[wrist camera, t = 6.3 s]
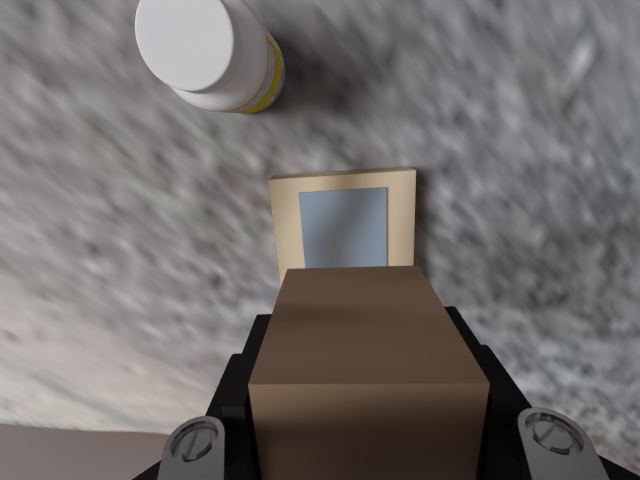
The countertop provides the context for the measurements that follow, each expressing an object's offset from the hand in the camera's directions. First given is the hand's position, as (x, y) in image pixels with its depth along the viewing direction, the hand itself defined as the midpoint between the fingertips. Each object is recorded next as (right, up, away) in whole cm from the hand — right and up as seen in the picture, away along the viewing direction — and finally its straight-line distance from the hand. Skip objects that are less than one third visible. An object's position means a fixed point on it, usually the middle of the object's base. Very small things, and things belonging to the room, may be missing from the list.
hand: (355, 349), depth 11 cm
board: (+1, +1, +15) cm, 16 cm away
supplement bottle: (-6, +15, +11) cm, 20 cm away
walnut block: (0, 0, +2) cm, 2 cm away
